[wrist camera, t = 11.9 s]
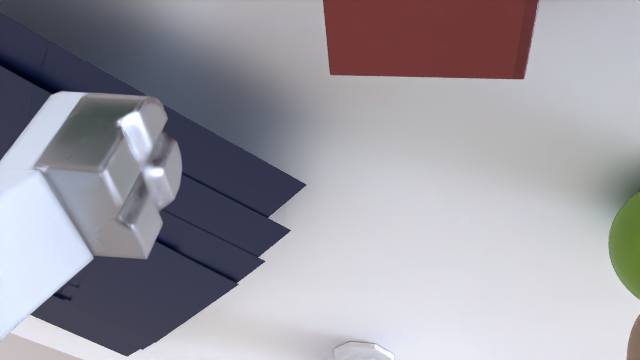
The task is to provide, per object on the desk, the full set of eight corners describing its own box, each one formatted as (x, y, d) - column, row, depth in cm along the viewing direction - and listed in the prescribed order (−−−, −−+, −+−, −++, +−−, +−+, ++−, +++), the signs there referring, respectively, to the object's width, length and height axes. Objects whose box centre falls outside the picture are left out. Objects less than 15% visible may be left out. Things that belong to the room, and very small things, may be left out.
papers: (359, 155, 25) (341, 226, 23) (144, 325, 47) (125, 369, 45) (-299, -246, 18) (-416, -197, 16) (-186, 180, 40) (-228, 224, 38)
